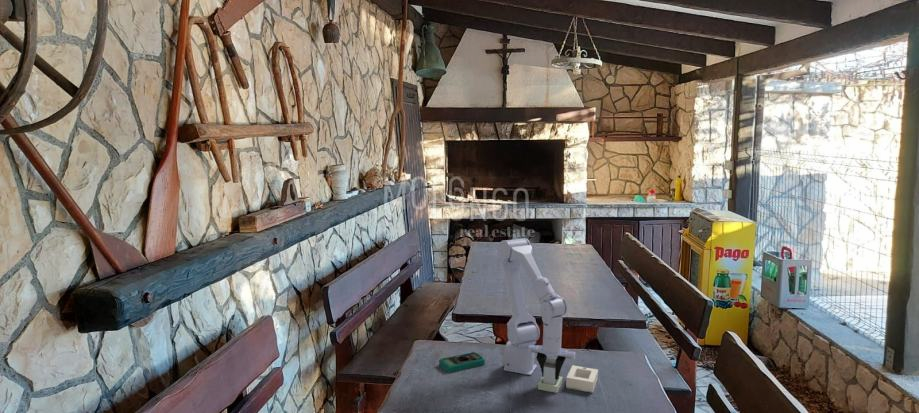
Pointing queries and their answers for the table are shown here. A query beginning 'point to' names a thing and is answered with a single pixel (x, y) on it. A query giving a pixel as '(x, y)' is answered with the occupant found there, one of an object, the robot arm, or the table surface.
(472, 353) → the digital multimeter
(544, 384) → the pale green rectangular frame
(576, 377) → the frame
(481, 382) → the table surface
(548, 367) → the plug
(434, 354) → the table surface
